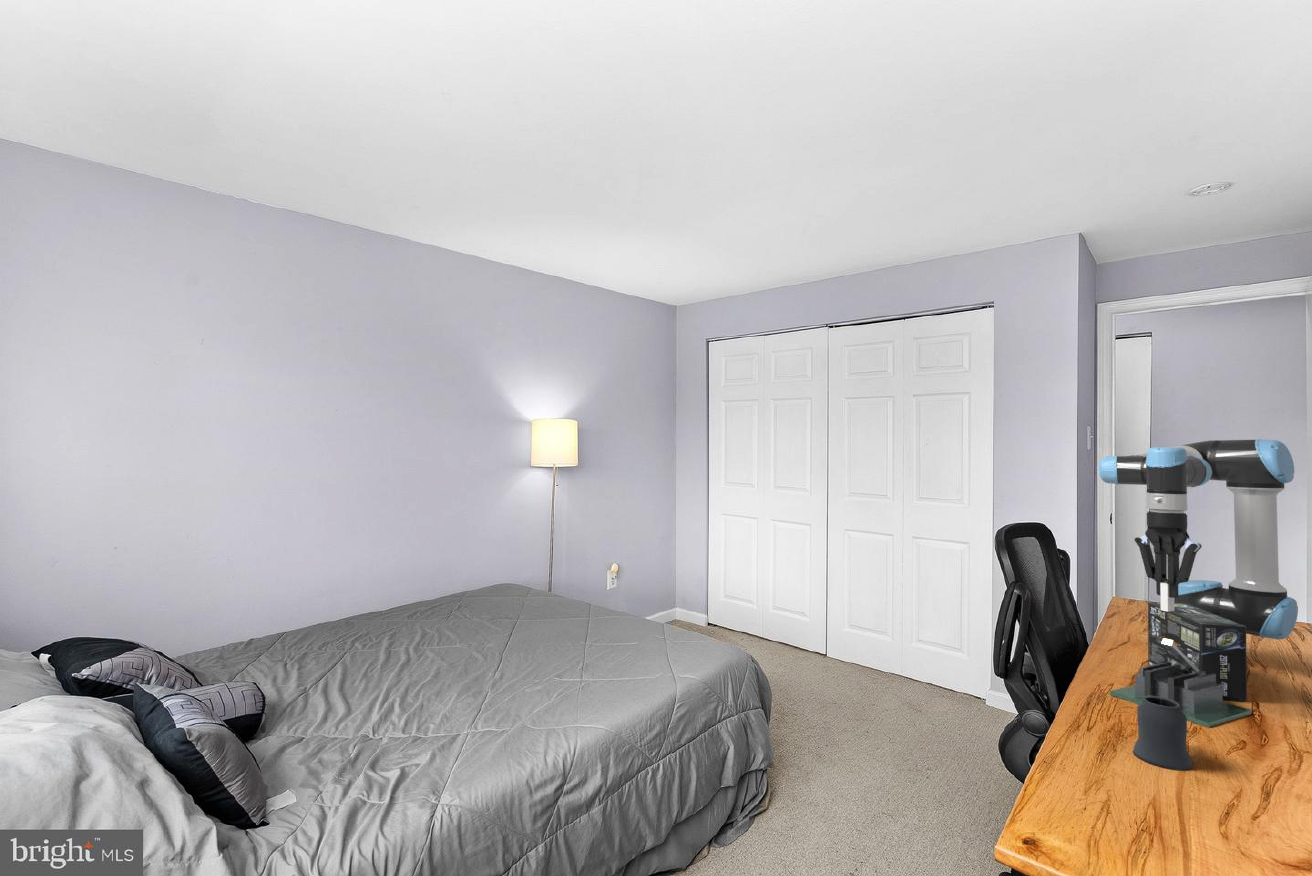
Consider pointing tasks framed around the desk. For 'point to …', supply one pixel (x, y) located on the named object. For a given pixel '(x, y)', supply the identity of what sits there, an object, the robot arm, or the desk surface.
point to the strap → (1179, 655)
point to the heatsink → (1183, 693)
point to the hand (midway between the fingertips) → (1167, 610)
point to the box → (1201, 644)
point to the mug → (1162, 734)
